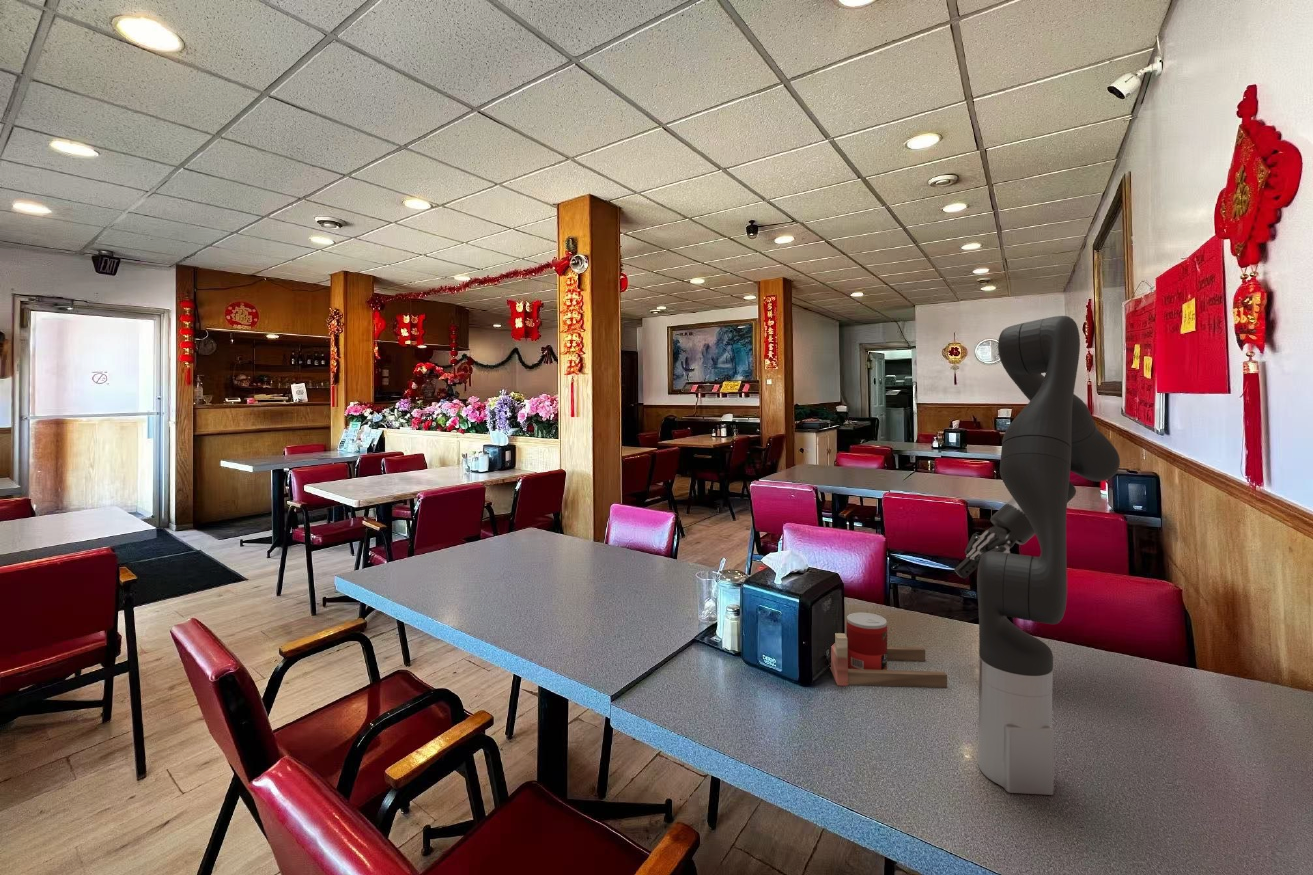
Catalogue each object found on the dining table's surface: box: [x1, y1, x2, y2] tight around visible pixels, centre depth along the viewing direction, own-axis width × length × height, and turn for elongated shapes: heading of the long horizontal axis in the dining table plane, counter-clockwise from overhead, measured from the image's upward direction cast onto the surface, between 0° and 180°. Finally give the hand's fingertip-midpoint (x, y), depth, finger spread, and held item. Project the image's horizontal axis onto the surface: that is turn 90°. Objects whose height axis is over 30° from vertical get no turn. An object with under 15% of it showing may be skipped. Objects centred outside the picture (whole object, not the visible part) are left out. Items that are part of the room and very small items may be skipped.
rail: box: [829, 632, 948, 689], centre depth 117 cm, size 14×21×10 cm, turn 84°
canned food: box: [846, 612, 888, 670], centre depth 117 cm, size 8×8×11 cm
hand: (958, 574), depth 114 cm, fingers closed
